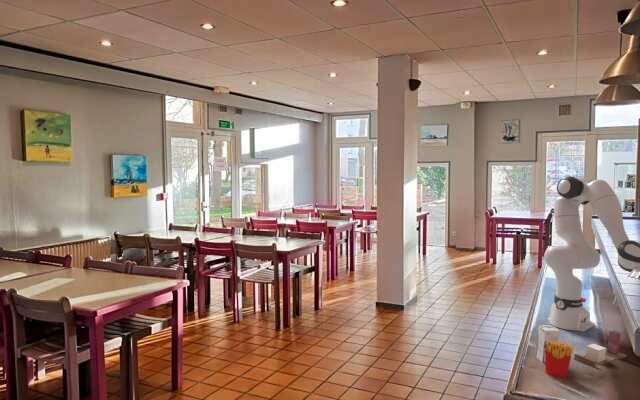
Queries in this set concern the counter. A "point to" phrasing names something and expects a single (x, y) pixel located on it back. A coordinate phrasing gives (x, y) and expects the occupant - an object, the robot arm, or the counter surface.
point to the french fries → (558, 359)
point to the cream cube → (595, 352)
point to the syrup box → (545, 340)
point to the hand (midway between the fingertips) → (620, 306)
